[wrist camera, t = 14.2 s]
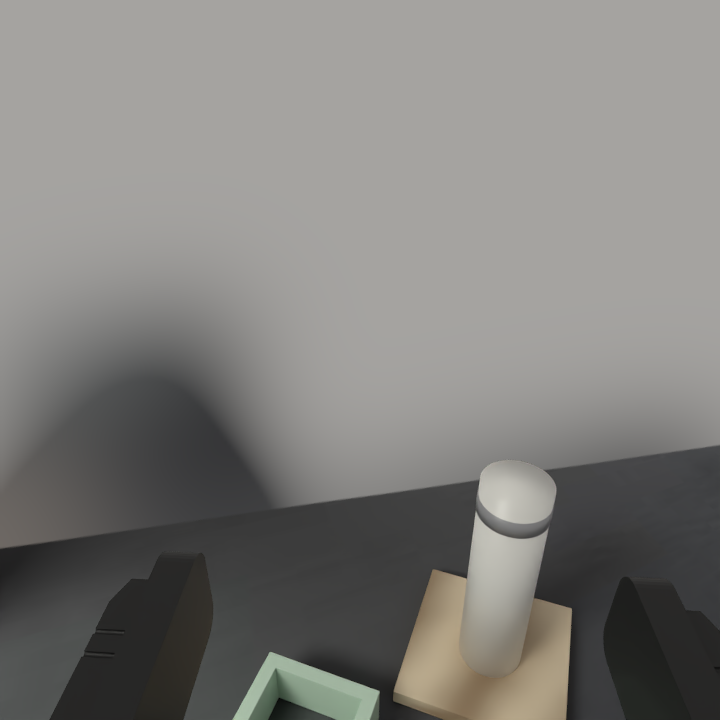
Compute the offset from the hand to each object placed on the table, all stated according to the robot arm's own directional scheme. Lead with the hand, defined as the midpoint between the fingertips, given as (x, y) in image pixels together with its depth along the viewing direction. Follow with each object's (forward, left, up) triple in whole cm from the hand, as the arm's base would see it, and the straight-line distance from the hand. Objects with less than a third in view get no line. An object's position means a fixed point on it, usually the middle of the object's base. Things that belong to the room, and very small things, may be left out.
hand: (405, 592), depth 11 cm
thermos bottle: (+1, +18, -25) cm, 31 cm away
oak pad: (+1, +18, -26) cm, 32 cm away
